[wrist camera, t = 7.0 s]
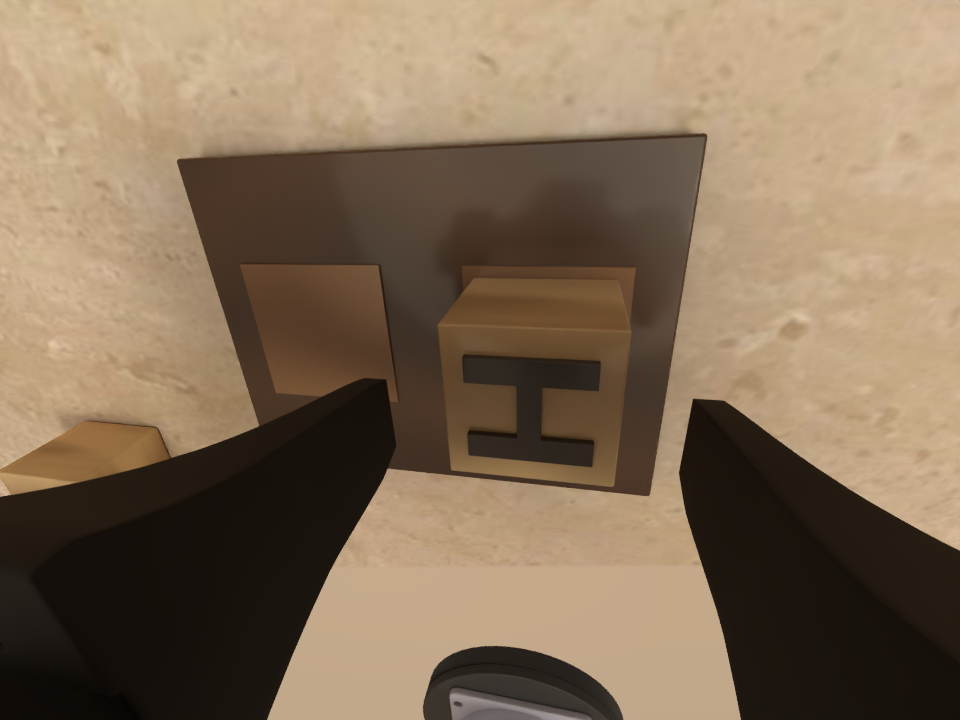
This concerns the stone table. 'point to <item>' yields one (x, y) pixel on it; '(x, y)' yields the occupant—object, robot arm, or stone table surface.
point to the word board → (441, 266)
